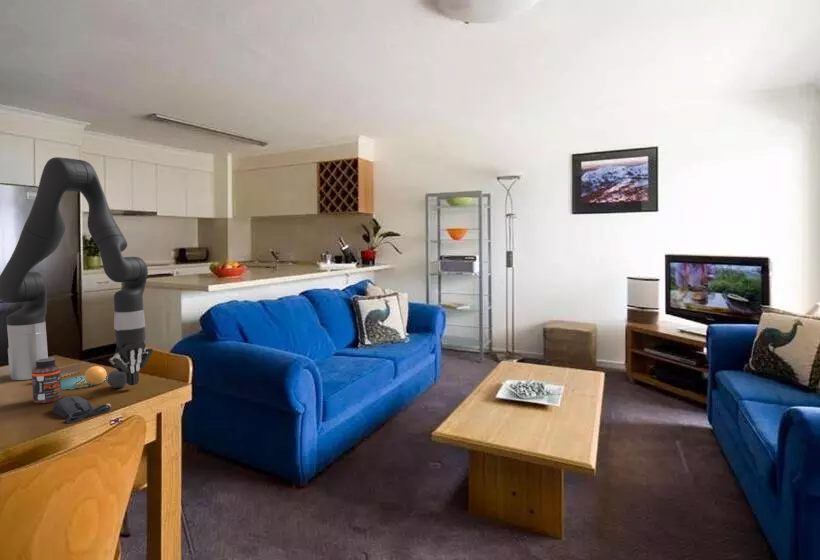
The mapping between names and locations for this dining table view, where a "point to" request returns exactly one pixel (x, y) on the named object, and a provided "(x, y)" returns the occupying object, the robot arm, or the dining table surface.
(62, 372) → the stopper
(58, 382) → the supplement bottle
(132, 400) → the dining table surface
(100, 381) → the orange ball
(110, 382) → the grey ball
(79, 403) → the computer mouse
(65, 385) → the teal mark
